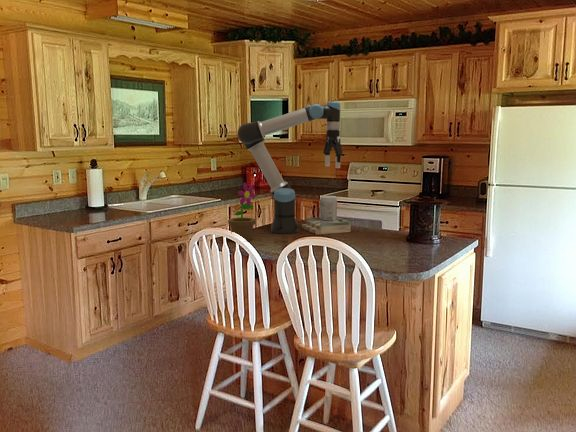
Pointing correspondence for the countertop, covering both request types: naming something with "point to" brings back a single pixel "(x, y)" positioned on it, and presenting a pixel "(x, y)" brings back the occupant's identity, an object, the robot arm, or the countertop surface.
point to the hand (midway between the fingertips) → (332, 167)
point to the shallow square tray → (327, 226)
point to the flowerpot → (242, 224)
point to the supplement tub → (328, 209)
